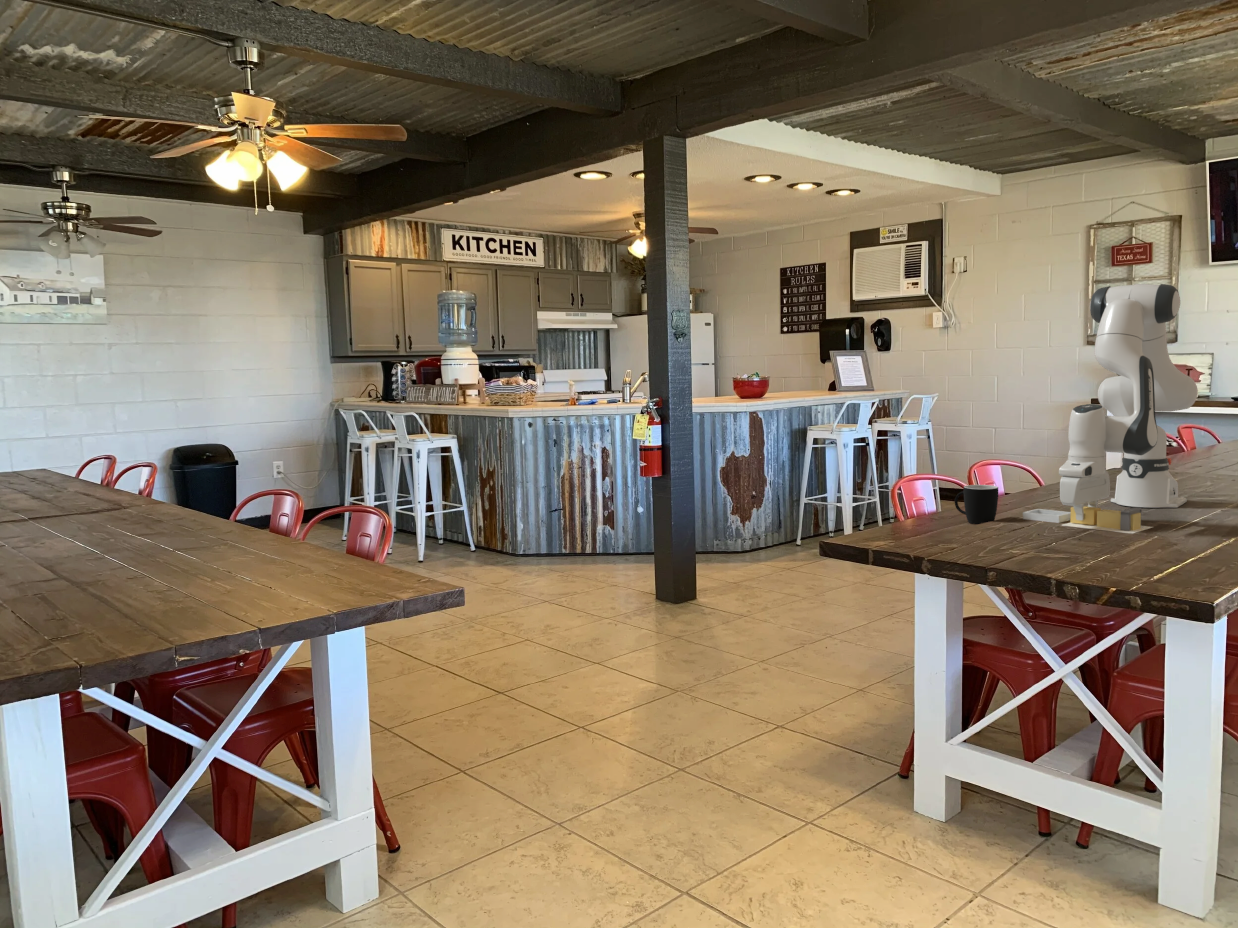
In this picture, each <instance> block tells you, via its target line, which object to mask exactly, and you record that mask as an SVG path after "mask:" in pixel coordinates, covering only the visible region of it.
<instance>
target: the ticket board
mask: <svg viewBox="0 0 1238 928" xmlns="http://www.w3.org/2000/svg"><path fill="white" fill-rule="evenodd" d="M1061 526H1063V527H1071V528H1081V529H1090V530H1099V531H1106V532H1116V533H1123V534H1135V533H1140V532H1143V531H1146V530H1149V529H1151V528H1154V526H1147V525H1142V507H1132V506H1131V507H1128V508H1126V509H1122V510H1117V509H1116V510H1114V509H1101V510H1100V511H1097V524H1096V525H1088V524H1079V523H1070V522H1068V523H1063V524H1061Z"/></svg>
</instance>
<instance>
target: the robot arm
mask: <svg viewBox="0 0 1238 928" xmlns="http://www.w3.org/2000/svg"><path fill="white" fill-rule="evenodd" d="M1180 306H1181V296H1180V293H1179V290H1178V289H1177V287H1175V286H1174V285H1171V284H1166V283H1160V284H1153V283H1151V284H1150V283H1134V284H1125V285H1117V286H1110V285H1108V286H1103V287H1100V288H1097V290H1096V291H1094V292H1093V294H1092V296H1091V299H1090V302H1089V312H1090V316H1091V319H1093V320H1094V321H1095V322H1096V323H1097V324H1099V325H1098V328H1097V332H1096V337H1095V342H1094V343H1095V344H1094V358H1095V359H1096V362H1097V363H1098V365H1100V367H1102V368H1103V369H1105V370H1107V371H1109V372H1111V373H1114V374H1116V376H1111V377H1106V378H1105V379H1104V380H1103V381H1101V383H1100V385H1099V387H1098V389H1097V398H1098V399H1097V400H1098V402H1099V404H1097V403H1087V404H1082V405H1077V406H1075V407H1072V409H1071V412H1070V415H1069V423H1068V432H1067V433H1068V434H1067V435H1068V436H1067V437H1068V439H1067V440H1068V443H1069V449H1068V453H1067V459H1066V461H1065V462H1064V463H1063V465H1061V466H1060V467H1059V469H1058V475H1059V476H1061V477H1060V481H1059V499H1060V502H1061V504H1062V505H1063V506H1069V507H1074V510H1075V513H1076V520H1085V513H1084V511H1083V508H1084V507H1085V504H1088V505H1087V507H1095V508H1098V504H1099V501H1100V500H1104V499H1107V498H1109V497H1110V494H1111V483H1110V482H1111V481H1110V474H1109V472H1108V471H1107V467H1106V453H1120V454H1121V453H1123V457H1122V458H1121V470H1122V471H1121V472H1120V473H1119V474H1118V475H1117V476H1116V485H1115V493H1114V497H1111V498H1110V502H1111V503H1114V504H1117V505H1119V506H1126V507H1131V508H1132V507H1135V508H1150V509H1151V508H1180V507H1181V506H1182V505H1184V504H1185V503H1186V502H1188V501H1187V500H1188V499H1187V498H1186V497H1181V496H1179V484H1178V483H1179V482H1178V481H1177V480H1176V479H1175V478H1174V477H1173V475H1172V474H1171V473H1170V471H1169V469H1170V466H1171V465H1172V462H1173V461H1172V457H1167V443H1168V442H1167V441H1168V440H1167V439H1168V438H1167V433H1166V431H1165V430H1164V429H1163V428H1162V427H1161V426H1159V425H1157V421H1156V420H1157V419H1156V412H1168V413H1169V412H1177V411H1183V410H1187V409H1190V408H1191V407H1192V406H1193V405H1195V402H1196V400H1197V398H1198V393H1199V392H1198V391H1199V390H1198V385H1197V383H1196V382H1195V380H1194V378H1192V377H1191V376H1189V375H1188V374H1185V373H1184V372H1182V371H1181V370H1179V368H1177V367H1176V365H1175V364H1174V363H1173V361H1172V360H1171V358H1170V355H1169V349H1168V341H1167V324H1166V323H1168V322H1171V321H1172V320H1174V319H1175V318H1176V317H1177V315H1178V312H1179V310H1180V308H1181V307H1180ZM1105 410H1106V411H1108V412H1109V413H1111V415H1107V414H1106V413H1105Z"/></svg>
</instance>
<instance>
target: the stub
mask: <svg viewBox="0 0 1238 928" xmlns="http://www.w3.org/2000/svg"><path fill="white" fill-rule="evenodd" d="M1100 510H1102V508H1101V507H1097V508H1095V507H1088V506H1084V508H1083V511H1084V513H1085V520H1076V513H1075V510H1074V507H1073V506H1070V512H1071V518H1070V520H1069V521H1070V522H1069V523H1079V524H1088V525H1096V524H1097V511H1100Z"/></svg>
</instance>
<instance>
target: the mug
mask: <svg viewBox="0 0 1238 928" xmlns="http://www.w3.org/2000/svg"><path fill="white" fill-rule="evenodd" d="M961 495H963V502H964V503H963V504H964V510H963V509H961V508H960V506H959V502H958V501H959V497H960V496H961ZM998 503H999V486H997V485H989V484H970V485H969V484H968V485H964V486H963V490H962V491H960V492H959V493H957V495H956V496H955V497H954V506H955V508H956V510H957V511H958V512H959V513H961V514H963V515H965V517H966V520H967V522H968V524H972V525H982V524H986V523H990V522H995V519H996V515H997V510H998Z"/></svg>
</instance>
